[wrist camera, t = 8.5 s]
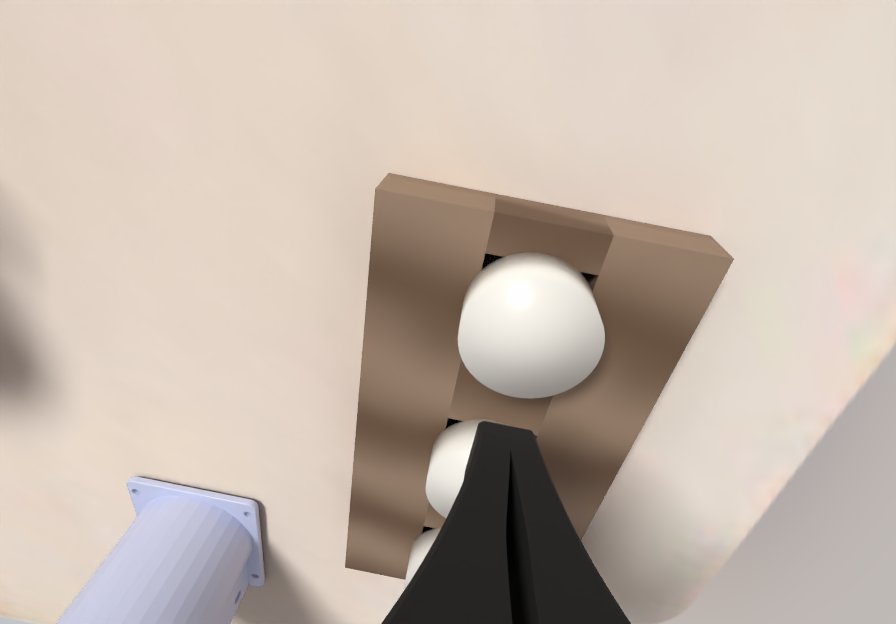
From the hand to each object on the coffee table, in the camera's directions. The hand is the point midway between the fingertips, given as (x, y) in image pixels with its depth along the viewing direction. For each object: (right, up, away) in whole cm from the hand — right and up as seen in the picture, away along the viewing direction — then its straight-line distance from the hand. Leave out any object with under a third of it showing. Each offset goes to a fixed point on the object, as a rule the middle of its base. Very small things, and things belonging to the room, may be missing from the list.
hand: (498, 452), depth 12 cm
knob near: (+2, +4, +7) cm, 8 cm away
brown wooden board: (+1, -2, +11) cm, 11 cm away
